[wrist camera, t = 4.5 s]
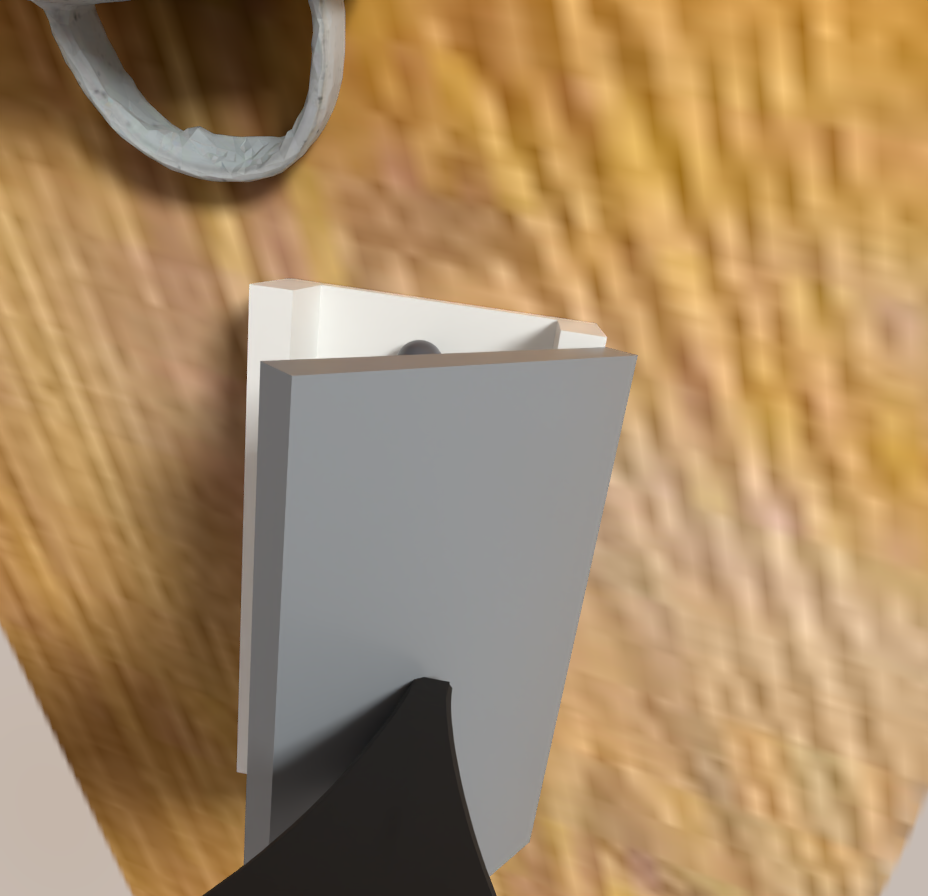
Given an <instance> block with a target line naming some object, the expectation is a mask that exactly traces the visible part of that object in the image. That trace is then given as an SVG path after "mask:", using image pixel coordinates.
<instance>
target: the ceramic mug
mask: <svg viewBox="0 0 928 896" xmlns="http://www.w3.org/2000/svg"><path fill="white" fill-rule="evenodd" d="M29 1H32V2H33V3H35V4H36V5H38V6H39V7H41V8H42V9H43V10H44V12H45V14H46V16H47V18H48V20H49V23H50V27H51V31H52V35H53V37H54V38H55V40H56V42H57V44H58V46H59V48H60V50H61V53H62V55H63V57H64V60H65V62H66V64H67V65H68V67H69V68H70V70H71V71H72V73H73V74H74V76H75V78H76V80H77V82H78V84H79V85H80V87H81V89H82V90H83V92H84V94H85V95H86V96H87V97H88V99H89V100H90V101H91V102H92V104H93V105H94V106H95V107H96V109H97V110H98V111H99V112H100V114H101V115H102V116H103V117H104V119H105V120H106V121H107V123H108V124H109V125H110V126H111V127H112V128H113V129H114V130H115V131H116V132H117V133H118V134H119V135H120V136H121V137H122V138H123V139H125V140H126V141H127V142H129V143H130V144H131V145H133V146H134V147H135V148H137V149H138V150H139V151H141V152H142V153H143V154H145V155H146V156H148V157H150V158H151V159H153V160H155V161H157V162H158V163H160V164H162V165H163V166H165V167H167V168H169V169H170V170H173V171H176V172H179V173H182V174H185V175H188V176H192V177H195V178H199V179H203V180H208V181H218V182H252V181H256V180H260V179H264V178H268V177H272V176H275V175H277V174H280V173H282V172H283V171H285V170H286V169H287V168H289V167H290V166H291V165H292V164H294V163H295V162H296V161H297V160H298V159H299V158H301V157H302V156H303V155H304V154H305V153H306V151H307V150H308V148H309V147H310V146H311V145H312V144H313V143H314V142H315V141H316V140H317V138H318V137H319V135H320V134H321V132H322V131H323V129H324V128H325V126H326V124H327V122H328V120H329V118H330V116H331V114H332V112H333V110H334V107H335V104H336V101H337V98H338V94H339V90H340V86H341V82H342V77H343V67H344V56H345V6H344V0H308V2H309V5H310V9H311V12H312V24H313V36H312V43H311V47H312V59H311V71H310V82H309V91H308V94H307V98H306V101H305V105H304V108H303V109H302V111H301V113H300V114H299V116H298V118H297V120H296V122H295V124H294V126H293V128H292V129H291V130H289V131H288V132H287V134H286V136H282V137H272V136H250V137H235V136H227V135H219V134H213V133H211V132H210V131H208V130H206V129H204V128H202V127H200V126H199V127H192V128H188V129H186V130H184V131H183V130H181V129H179V128H178V127H176V126H174V125H173V124H171V123H170V122H169V121H168V120H167V119H166V118H165V117H163V116H162V115H161V114H160V113H159V112H158V111H157V110H156V109H155V108H154V107H153V106H152V105H151V104H150V103H149V102H148V101H147V100H146V99H145V98H144V96H143V95H142V94H141V92H140V91H139V90H138V88H137V87H136V85H135V83H134V81H133V79H132V78H131V77H130V76H129V75H128V73H127V72H126V71H125V70H124V68H123V66H122V64H121V62H120V60H119V58H118V56H117V54H116V52H115V50H114V48H113V47H112V45H111V43H110V41H109V40H108V38H107V35H106V32H105V30H104V27H103V25H102V23H101V21H100V18H99V16H98V14H97V11H96V8H95V4H99V3H106V2H120V1H129V0H29Z"/></svg>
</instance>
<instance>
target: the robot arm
mask: <svg viewBox="0 0 928 896" xmlns="http://www.w3.org/2000/svg"><path fill="white" fill-rule="evenodd" d="M449 683H450V682H448V681H442V680H437V679H432V678H427V677H422V678H417V679H414V681H413V682H412V683H411V684H410V685H409V686H408V688H407V689H406V691H405V693H404V694H403V696H402V698H401V699H400V701H399V703H398V704H397V706H396V707H395V709H394V710H393V711H392V713H391V714H390V716H389V717H388V719H387V720H386V721H385V723H384V724H383V725H382V727H381V728H380V729H379V731H378V732H377V733H376V734H375V736H374V737H373V738H372V740H371V741H370V742H369V743H368V745H367V746H366V747H365V748H364V750H363V751H362V752H361V753H360V755H359V756H358V757H357V758H356V759H355V760H354V761H353V763H352V764H351V765H350V766H349V767H348V768H347V769H346V770H345V771H344V773H343V774H342V775H341V776H340V777H339V778H338V779H337V780H336V782H335V783H334V784H333V785H332V786H331V787H330V788H329V789H328V790H327V791H326V792H325V793H324V794H323V795H322V796H321V797H320V798H319V799H318V800H317V801H316V802H315V803H314V804H313V805H312V806H311V807H310V808H309V809H308V810H307V811H306V812H305V813H304V814H303V815H302V816H301V817H300V818H299V819H297V820H296V821H295V822H294V823H293V824H292V825H291V826H290V827H289V828H288V829H287V830H285V831H284V832H283V833H282V834H281V835H280V836H278V837H277V838H276V839H275V840H274V841H273V842H271V843H270V844H269V845H268V846H267V847H266V848H264V849H263V850H262V851H261V852H260V853H259V854H257V855H256V856H255V857H254V858H252V859H251V860H250V861H249V862H247V863H246V864H245V865H244V866H242V867H241V868H240V869H238V870H237V871H236V872H234V873H233V874H232V875H230V876H229V877H227V878H226V879H225V880H223V881H222V882H221V883H219V884H218V885H216V886H215V887H214V888H212V889H211V890H210V891H208V892H207V893H205V894H204V895H203V896H496V893H495V890H494V888H493V885H492V882H491V880H490V877H489V874H488V872H487V869H486V866H485V863H484V860H483V857H482V854H481V851H480V848H479V845H478V842H477V839H476V835H475V832H474V829H473V825H472V822H471V818H470V814H469V810H468V807H467V803H466V799H465V795H464V791H463V786H462V782H461V777H460V772H459V766H458V761H457V756H456V750H455V744H454V736H453V727H452V715H451V696H452V689H453V688H452V687H451V685H450V684H449Z"/></svg>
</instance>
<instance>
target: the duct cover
mask: <svg viewBox="0 0 928 896" xmlns="http://www.w3.org/2000/svg"><path fill="white" fill-rule="evenodd" d="M637 356H638V355H635V354H631V353H627V352H623V351H619V350H615V349H611V348H607V347H594V348H569V349H545V350H520V351H495V352H470V353H445V354H420V355H395V356H370V357H345V358H320V359H296V360H271V361H260V386H259V416H258V447H257V478H256V509H255V539H254V570H253V601H252V632H251V662H250V693H249V724H248V755H247V785H246V816H245V847H244V865H245V864H246V863H247V862H249V861H250V860H251V859H252V858H254V857H255V856H256V855H257V854H259V853H260V852H261V851H262V850H263V849H264V848H266V847H267V846H268V845H269V844H270V843H271V842H273V841H274V840H275V839H276V838H277V837H278V836H280V835H281V834H282V833H283V832H284V831H285V830H287V829H288V828H289V827H290V826H291V825H292V824H293V823H294V822H295V821H296V820H297V819H299V818H300V817H301V816H302V815H303V814H304V813H305V812H306V811H307V810H308V809H309V808H310V807H311V806H312V805H313V804H314V803H315V802H316V801H317V800H318V799H319V798H320V797H321V796H322V795H323V794H324V793H325V792H326V791H327V790H328V789H329V788H330V787H331V786H332V785H333V784H334V783H335V782H336V780H337V779H338V778H339V777H340V776H341V775H342V774H343V773H344V771H345V770H346V769H347V768H348V767H349V766H350V765H351V764H352V763H353V761H354V760H355V759H356V758H357V757H358V756H359V755H360V753H361V752H362V751H363V750H364V748H365V747H366V746H367V745H368V743H369V742H370V741H371V740H372V738H373V737H374V736H375V734H376V733H377V732H378V731H379V729H380V728H381V727H382V725H383V724H384V723H385V721H386V720H387V719H388V717H389V716H390V714H391V713H392V711H393V710H394V709H395V707H396V706H397V704H398V703H399V701H400V699H401V698H402V696H403V694H404V693H405V691H406V689H407V688H408V686H409V685H410V684H411V683H412V682H413V681H414V679H417V678H422V677H427V678H432V679H437V680H442V681H448V682H450V683H449V684H450V685H451V687H452V688H453V689H452V696H451V715H452V727H453V736H454V744H455V750H456V756H457V761H458V766H459V772H460V777H461V782H462V786H463V791H464V795H465V799H466V803H467V807H468V810H469V814H470V818H471V822H472V825H473V829H474V832H475V835H476V839H477V842H478V845H479V848H480V851H481V854H482V857H483V860H484V863H485V866H486V869H487V872H488V874H489V877H490V876H491V875H492V874H493V873H494V872H495V871H496V870H498V869H499V868H500V867H501V866H502V865H503V864H505V863H506V862H507V861H508V860H509V859H510V858H511V857H513V856H514V855H515V854H516V853H517V852H518V851H520V850H521V849H522V848H523V847H524V846H525V845H526V844H528V843H529V842H530V837H531V833H532V828H533V824H534V819H535V815H536V810H537V806H538V801H539V797H540V792H541V788H542V783H543V779H544V774H545V770H546V765H547V761H548V756H549V752H550V747H551V743H552V738H553V734H554V729H555V725H556V720H557V716H558V711H559V707H560V702H561V698H562V693H563V689H564V684H565V680H566V675H567V671H568V666H569V662H570V657H571V653H572V648H573V644H574V639H575V635H576V630H577V626H578V621H579V617H580V612H581V608H582V603H583V599H584V594H585V590H586V585H587V581H588V576H589V572H590V567H591V563H592V558H593V554H594V549H595V545H596V540H597V536H598V531H599V527H600V522H601V518H602V513H603V509H604V504H605V500H606V495H607V491H608V486H609V482H610V477H611V473H612V468H613V464H614V459H615V455H616V450H617V446H618V441H619V437H620V432H621V428H622V423H623V419H624V414H625V410H626V405H627V401H628V396H629V392H630V387H631V383H632V378H633V374H634V369H635V365H636V360H637Z"/></svg>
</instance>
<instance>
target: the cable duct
mask: <svg viewBox="0 0 928 896" xmlns="http://www.w3.org/2000/svg"><path fill="white" fill-rule="evenodd" d="M606 339H607V337H606V335H605V334H604V333H603V332H602V330H601V329H600V328H599V326H598V325H597V324H596V323H590V322H584V321H577V320H570V319H563V318H556V317H550V316H543V315H536V314H529V313H523V312H516V311H509V310H502V309H496V308H489V307H482V306H475V305H468V304H462V303H455V302H448V301H441V300H435V299H428V298H421V297H414V296H408V295H401V294H394V293H387V292H380V291H374V290H367V289H360V288H353V287H347V286H340V285H333V284H326V283H320V282H313V281H306V280H299V279H292V278H287V279H280V280H273V281H267V282H260V283H253V284H249V321H248V359H247V398H246V436H245V475H244V513H243V551H242V590H241V628H240V667H239V705H238V744H237V772H240V773H245V774H247V755H248V724H249V693H250V662H251V632H252V601H253V570H254V539H255V509H256V478H257V447H258V416H259V386H260V361H271V360H296V359H320V358H345V357H370V356H395V355H420V354H445V353H470V352H495V351H520V350H545V349H569V348H594V347H605V344H606Z"/></svg>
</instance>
